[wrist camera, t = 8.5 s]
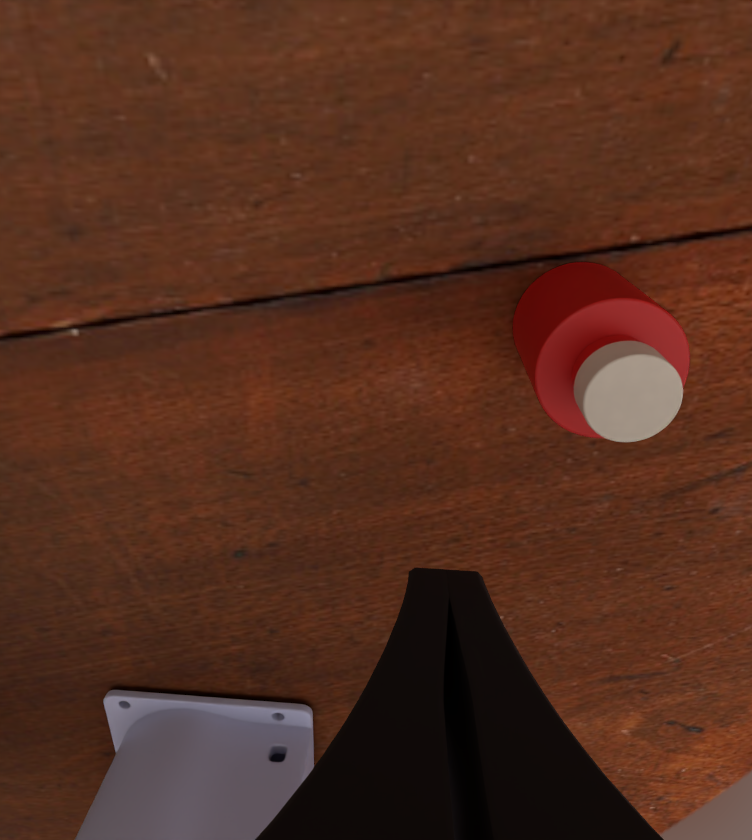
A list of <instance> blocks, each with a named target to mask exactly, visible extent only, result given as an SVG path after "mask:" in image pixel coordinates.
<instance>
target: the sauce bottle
mask: <svg viewBox="0 0 752 840" xmlns="http://www.w3.org/2000/svg"><path fill="white" fill-rule="evenodd" d="M513 338H514V342H515V345H516V348H517V351H518V353H519V355H520V358H521V360H522V362H523V365H524V367H525V369H526V372H527V374H528V377H529V379H530V381H531V384H532V386H533V388H534V391H535V393H536V395H537V398H538V400H539V402H540V404H541V406H542V408H543V410H544V411H545V412H546V413H547V415H548V416H549V417H550V418H551V419H552V420H553V421H554V422H555V423H557V424H558V425H559V426H561V427H562V428H564V429H566V430H568V431H570V432H572V433H575V434H578V435H582V436H586V437H592V438H606V439H609V440H613V441H617V442H635V441H640V440H643V439H646V438H649V437H651V436H653V435H655V434H657V433H658V432H660V431H661V430H662V429H664V428H665V427H666V426H667V425H668V424H669V423H670V422H671V421H672V420H673V418H674V417H675V416H676V414H677V412H678V410H679V408H680V405H681V402H682V397H683V387H684V385H685V382H686V379H687V376H688V371H689V366H690V351H689V345H688V341H687V337H686V335H685V333H684V331H683V329H682V327H681V326H680V324H679V323H678V321H677V320H676V319H675V318H674V317H673V316H672V315H671V314H670V313H669V312H667V311H666V310H665V309H664V308H662V307H661V306H660V305H658V304H657V303H656V302H655V301H653V300H652V299H651V298H649V297H648V296H647V295H645V294H644V293H643V292H642V291H640V290H639V289H638V288H636V287H635V286H634V285H633V284H631V283H630V282H629V281H627V280H626V279H625V278H623V277H622V276H621V275H620V274H618V273H617V272H615V271H614V270H612V269H610V268H608V267H606V266H603V265H600V264H596V263H591V262H575V263H568V264H565V265H561V266H558V267H556V268H554V269H551V270H550V271H548V272H546V273H544V274H543V275H542V276H540V277H539V278H537V279H536V280H535V281H534V282H533V283H532V284H531V285H530V286H529V287H528V289H527V290H526V291H525V292H524V294H523V295H522V297H521V299H520V301H519V303H518V305H517V307H516V310H515V313H514V318H513Z"/></svg>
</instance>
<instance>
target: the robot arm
mask: <svg viewBox="0 0 752 840" xmlns="http://www.w3.org/2000/svg"><path fill="white" fill-rule="evenodd" d="M104 707H105V711H106V715H107V719H108V723H109V727H110V731H111V735H112V739H113V743H114V747H115V751H116V755H115V757H114V759H113V761H112V763H111V765H110V768H109V770H108V772H107V774H106V776H105V778H104V780H103V782H102V784H101V786H100V788H99V790H98V793H97V795H96V797H95V799H94V801H93V803H92V805H91V807H90V809H89V811H88V813H87V815H86V818H85V820H84V822H83V824H82V826H81V828H80V830H79V832H78V834H77V836H76V838H75V840H663V838H662V837H661V836H660V835H659V834H658V833H657V832H656V831H655V830H654V829H653V828H652V827H651V826H650V825H649V824H648V823H647V821H646V820H645V819H644V818H643V817H642V816H641V815H640V814H639V813H638V811H637V810H636V809H635V808H634V807H633V806H632V805H631V804H630V803H629V801H628V800H627V799H626V798H625V797H624V796H623V795H622V794H621V793H620V791H619V790H618V789H617V788H616V787H615V786H614V785H613V784H612V782H611V781H610V780H609V779H608V778H607V777H606V776H605V774H604V773H603V772H602V771H601V769H600V768H599V767H598V766H597V765H596V763H595V762H594V761H593V760H592V758H591V757H590V756H589V755H588V753H587V752H586V751H585V750H584V748H583V747H582V746H581V744H580V743H579V742H578V741H577V739H576V738H575V737H574V735H573V734H572V733H571V731H570V730H569V729H568V727H567V726H566V725H565V723H564V722H563V720H562V719H561V718H560V716H559V715H558V713H557V712H556V710H555V709H554V708H553V706H552V705H551V703H550V702H549V700H548V699H547V697H546V696H545V694H544V693H543V691H542V690H541V688H540V686H539V685H538V683H537V682H536V680H535V679H534V677H533V676H532V674H531V672H530V671H529V669H528V667H527V666H526V664H525V662H524V661H523V659H522V657H521V655H520V654H519V652H518V650H517V648H516V647H515V645H514V643H513V641H512V640H511V638H510V636H509V634H508V632H507V630H506V629H505V627H504V625H503V623H502V621H501V619H500V617H499V615H498V613H497V611H496V609H495V607H494V604H493V602H492V600H491V598H490V596H489V593H488V591H487V588H486V586H485V583H484V581H483V578H482V576H481V575H480V574H479V573H478V572H475V571H459V570H444V569H428V568H414V569H412V570H411V571H410V572H409V577H408V584H407V589H406V593H405V597H404V600H403V604H402V607H401V610H400V612H399V615H398V618H397V621H396V623H395V626H394V628H393V630H392V633H391V635H390V638H389V640H388V643H387V645H386V647H385V649H384V652H383V654H382V656H381V658H380V660H379V662H378V664H377V666H376V668H375V670H374V672H373V674H372V676H371V678H370V680H369V682H368V684H367V685H366V687H365V689H364V691H363V693H362V694H361V696H360V698H359V700H358V701H357V703H356V705H355V707H354V708H353V710H352V711H351V713H350V715H349V716H348V718H347V720H346V721H345V723H344V724H343V726H342V728H341V729H340V731H339V732H338V734H337V735H336V737H335V738H334V739H333V741H332V742H331V744H330V745H329V747H328V748H327V750H326V751H325V753H324V754H323V756H322V757H321V759H320V760H319V761H318V763H317V764H316V765H315V767H314V743H313V712H312V709H311V708H310V707H309V706H307V705H304V704H296V703H283V702H270V701H256V700H243V699H230V698H217V697H204V696H191V695H178V694H165V693H152V692H139V691H126V690H111V691H109V692H108V693H107V694H106V696H105V698H104Z"/></svg>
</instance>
